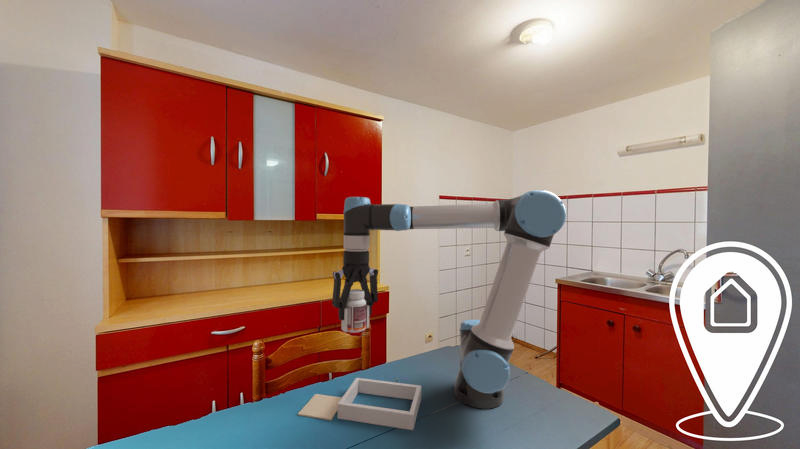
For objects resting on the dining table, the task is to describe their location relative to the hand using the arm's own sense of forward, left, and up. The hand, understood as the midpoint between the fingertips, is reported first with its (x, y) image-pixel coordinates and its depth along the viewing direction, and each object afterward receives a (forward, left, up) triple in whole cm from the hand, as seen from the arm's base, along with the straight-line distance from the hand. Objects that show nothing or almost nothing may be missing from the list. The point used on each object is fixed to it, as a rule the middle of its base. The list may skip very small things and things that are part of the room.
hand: (355, 328), depth 87 cm
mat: (+9, +2, -23) cm, 25 cm away
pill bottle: (0, 0, -1) cm, 1 cm away
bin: (-8, -1, -23) cm, 24 cm away
